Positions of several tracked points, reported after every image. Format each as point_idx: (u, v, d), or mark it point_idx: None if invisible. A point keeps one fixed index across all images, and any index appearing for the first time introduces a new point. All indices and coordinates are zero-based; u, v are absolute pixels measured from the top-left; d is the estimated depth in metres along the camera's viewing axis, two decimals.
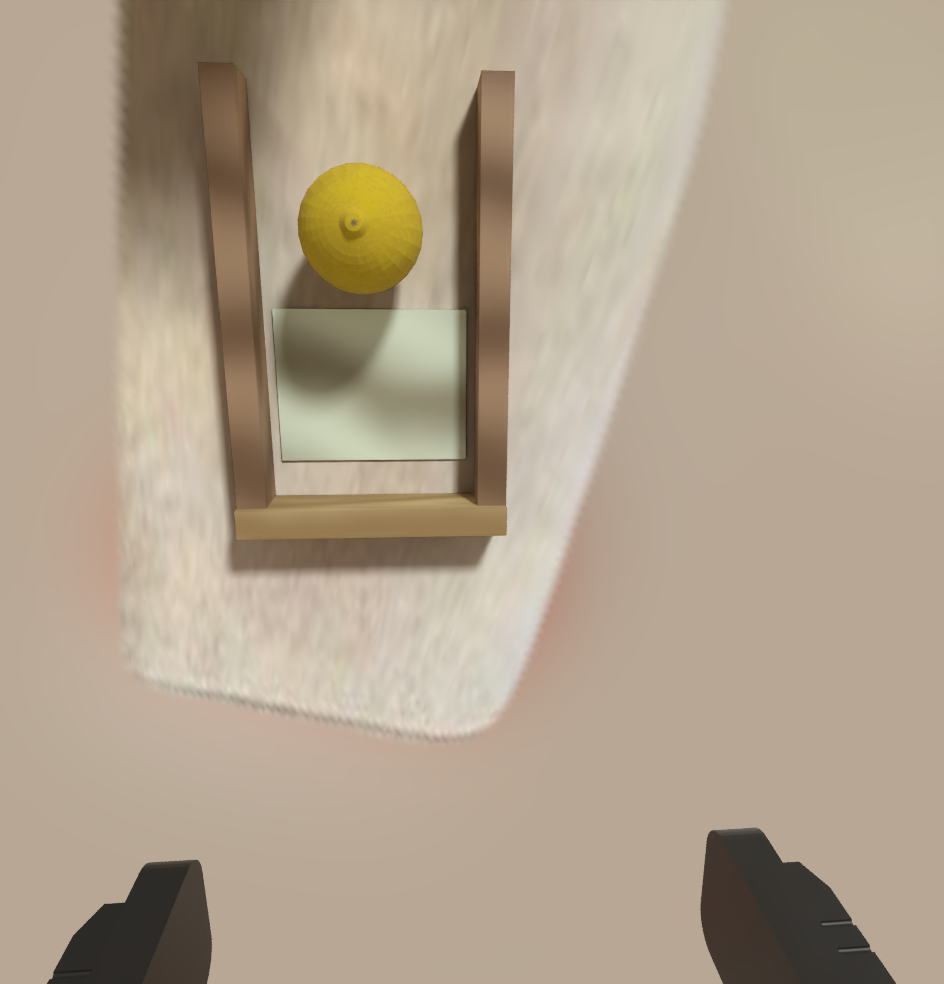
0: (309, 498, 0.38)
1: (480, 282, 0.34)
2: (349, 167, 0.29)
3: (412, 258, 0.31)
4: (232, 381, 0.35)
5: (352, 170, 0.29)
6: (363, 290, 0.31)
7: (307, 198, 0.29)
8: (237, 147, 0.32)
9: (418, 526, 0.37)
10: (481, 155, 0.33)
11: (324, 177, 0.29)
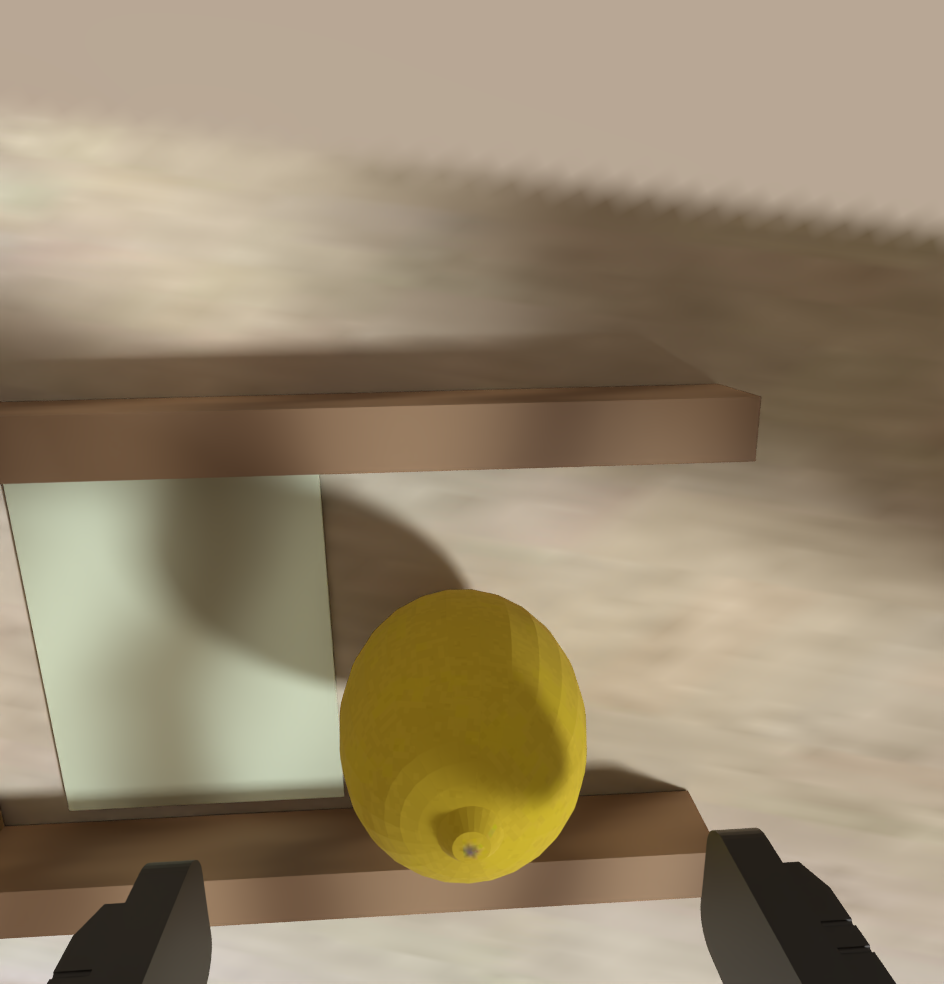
0: None
1: (384, 870, 0.19)
2: (580, 765, 0.14)
3: None
4: (137, 428, 0.15)
5: (575, 781, 0.14)
6: (341, 764, 0.15)
7: (520, 690, 0.13)
8: (611, 463, 0.16)
9: None
10: (592, 857, 0.19)
11: (562, 722, 0.14)
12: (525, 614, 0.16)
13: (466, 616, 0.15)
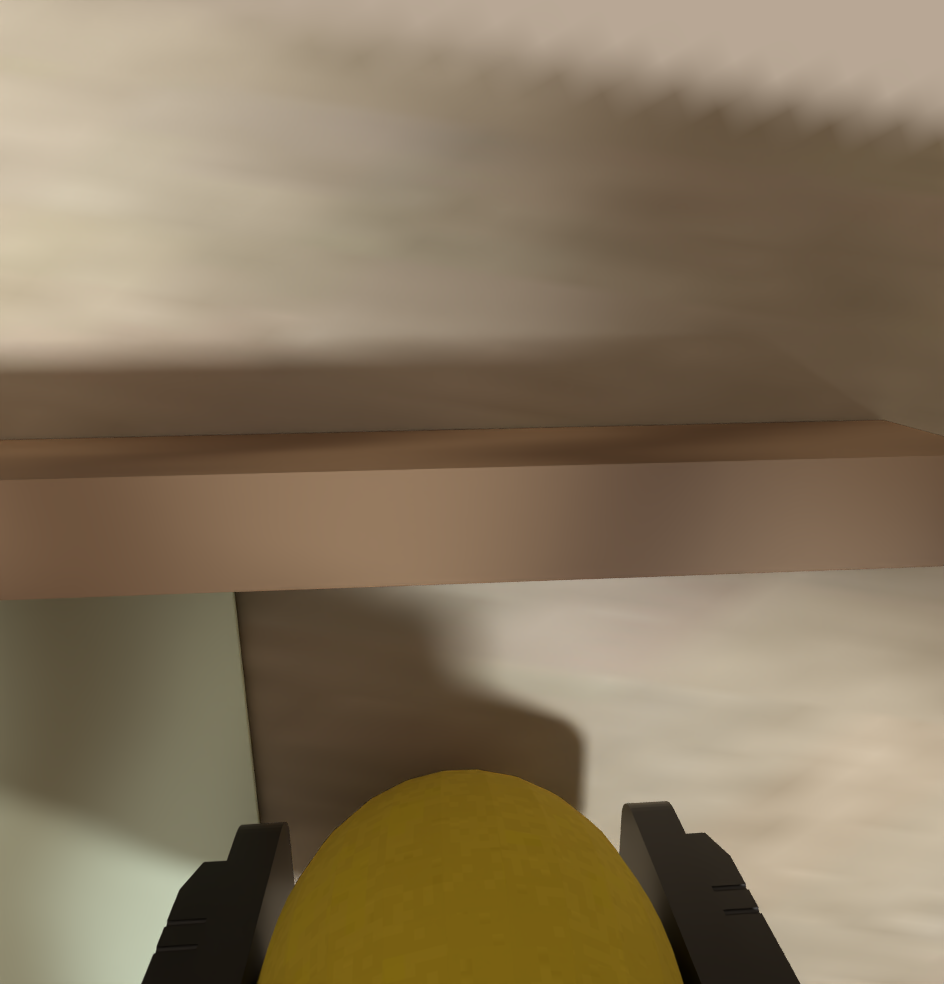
0: None
1: None
2: None
3: None
4: None
5: None
6: None
7: None
8: (736, 570, 0.09)
9: None
10: None
11: None
12: (583, 842, 0.09)
13: (481, 879, 0.08)
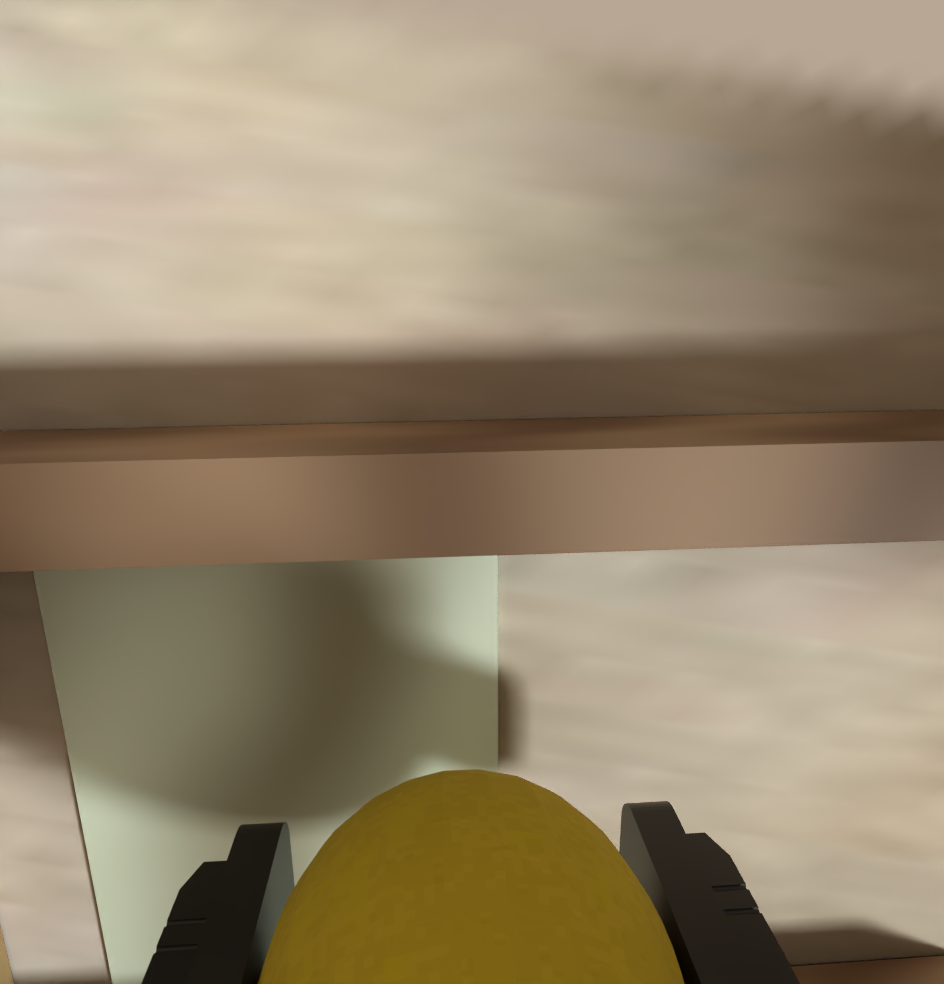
0: None
1: None
2: None
3: None
4: (261, 481, 0.09)
5: None
6: None
7: None
8: None
9: None
10: None
11: None
12: (584, 841, 0.09)
13: (482, 878, 0.08)
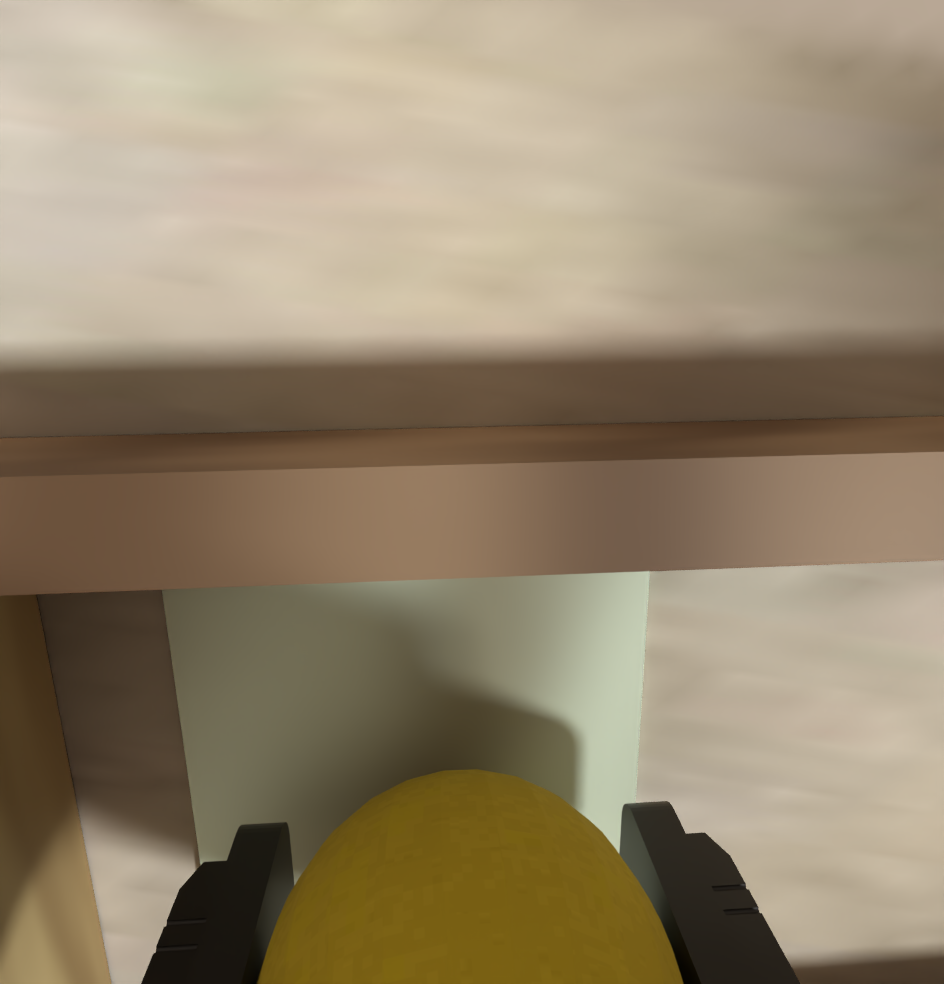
0: (23, 665, 0.11)
1: None
2: None
3: None
4: (449, 490, 0.09)
5: None
6: None
7: None
8: None
9: None
10: None
11: None
12: (583, 841, 0.09)
13: (481, 878, 0.08)
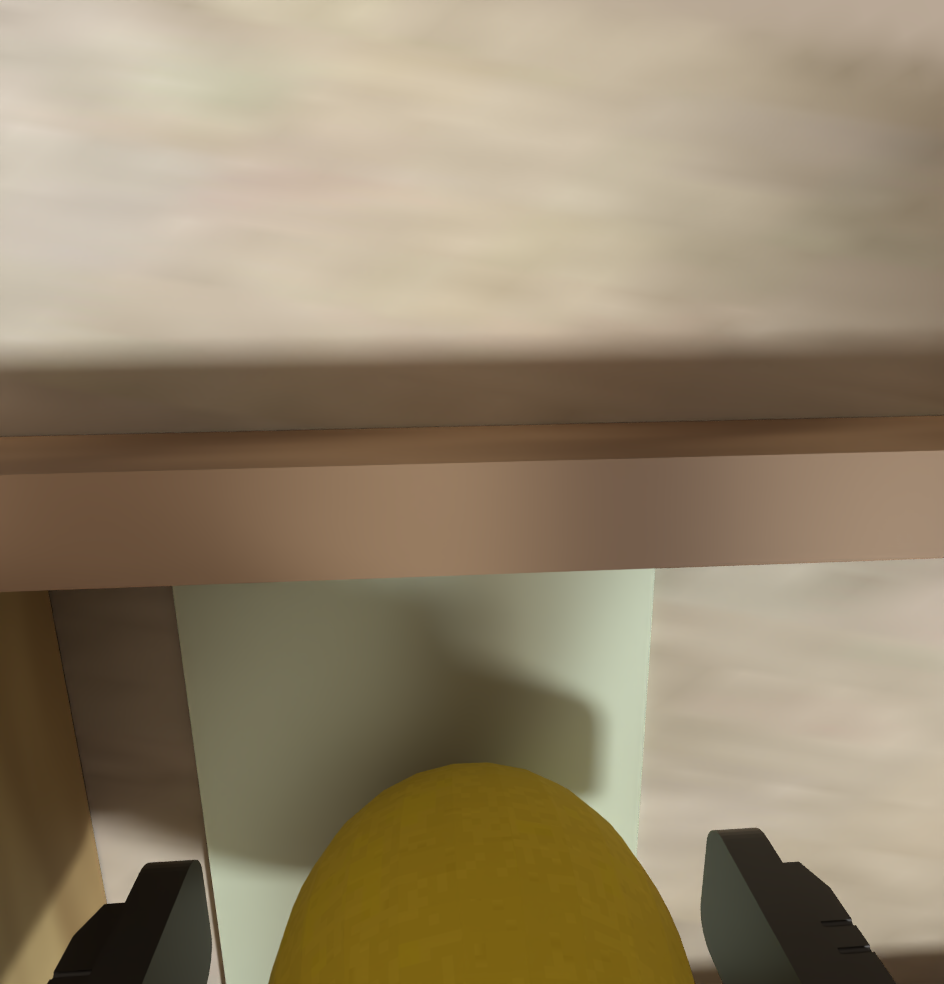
0: (36, 661, 0.11)
1: None
2: None
3: None
4: (457, 488, 0.09)
5: None
6: None
7: None
8: None
9: None
10: None
11: None
12: (593, 832, 0.09)
13: (494, 867, 0.08)
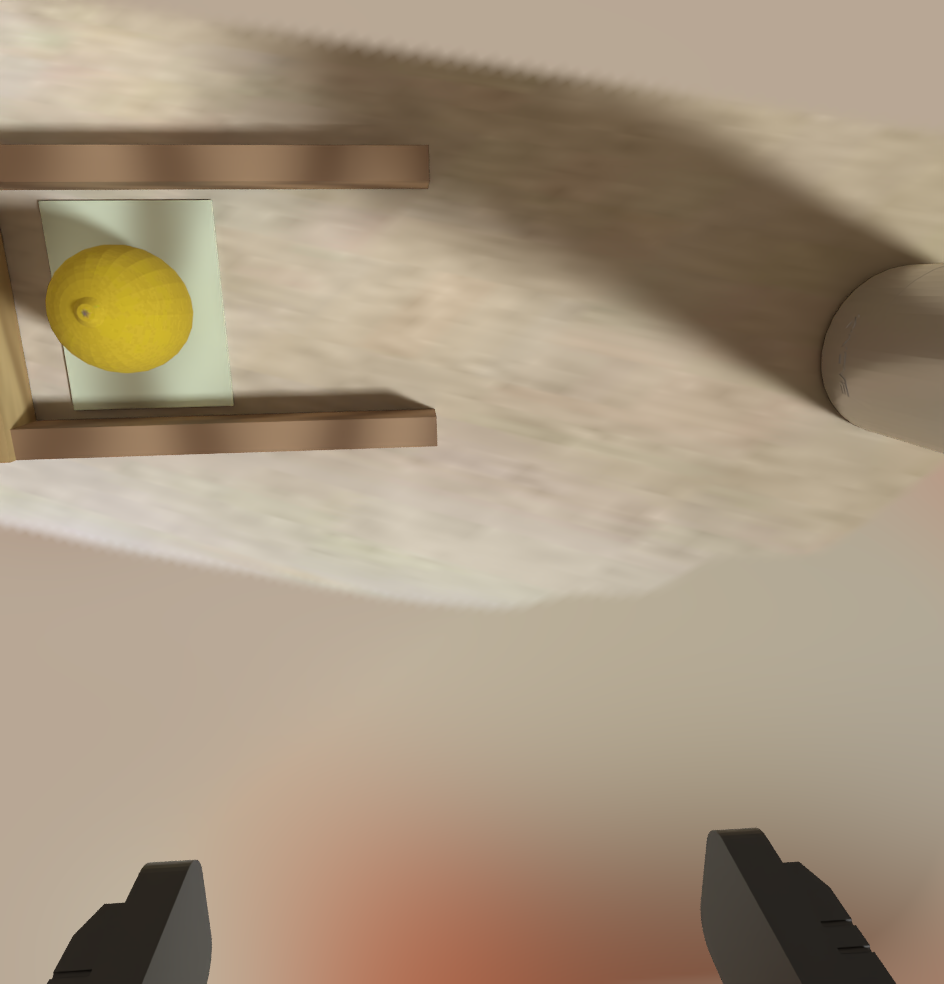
0: None
1: (251, 423, 0.35)
2: (160, 304, 0.29)
3: None
4: (112, 153, 0.31)
5: (154, 308, 0.29)
6: None
7: (123, 260, 0.29)
8: (355, 179, 0.32)
9: None
10: (366, 419, 0.35)
11: (146, 278, 0.29)
12: (156, 256, 0.31)
13: None
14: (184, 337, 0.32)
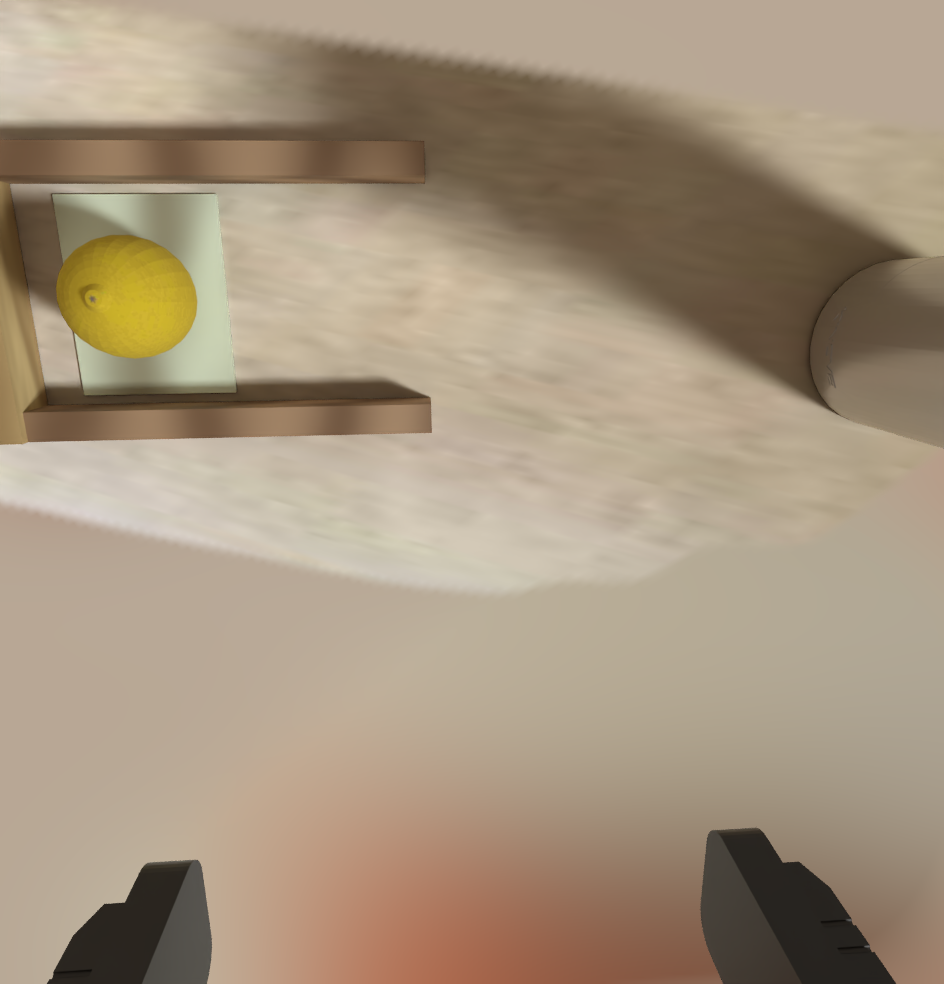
0: (9, 224, 0.35)
1: (252, 408, 0.36)
2: (164, 292, 0.31)
3: None
4: (121, 148, 0.32)
5: (158, 295, 0.31)
6: None
7: (129, 249, 0.30)
8: (353, 174, 0.33)
9: None
10: (363, 406, 0.37)
11: (151, 267, 0.30)
12: (162, 247, 0.33)
13: None
14: (188, 324, 0.33)
